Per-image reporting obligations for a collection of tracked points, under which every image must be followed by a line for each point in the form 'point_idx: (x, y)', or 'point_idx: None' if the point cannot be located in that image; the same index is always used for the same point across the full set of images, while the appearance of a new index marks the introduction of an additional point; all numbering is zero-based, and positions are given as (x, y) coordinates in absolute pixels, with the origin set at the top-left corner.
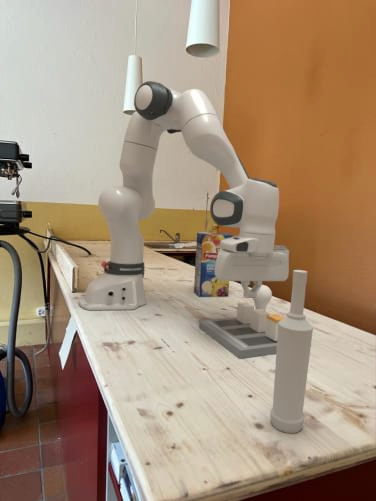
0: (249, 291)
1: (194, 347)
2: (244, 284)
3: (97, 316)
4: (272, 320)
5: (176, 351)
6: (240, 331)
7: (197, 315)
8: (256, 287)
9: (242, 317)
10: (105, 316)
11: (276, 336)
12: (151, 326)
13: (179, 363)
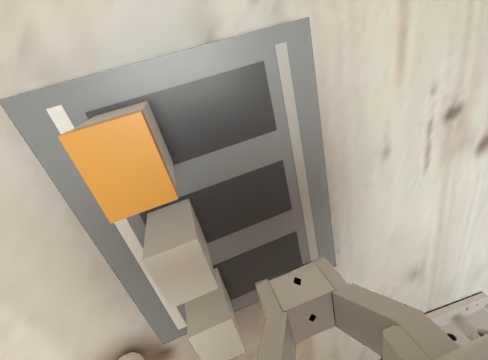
0: (334, 290)
1: (381, 117)
2: (426, 320)
3: (480, 268)
4: (157, 145)
5: (427, 89)
6: (250, 199)
7: None
8: (286, 353)
9: (224, 289)
10: (469, 271)
11: (139, 104)
12: (417, 238)
13: (451, 6)
